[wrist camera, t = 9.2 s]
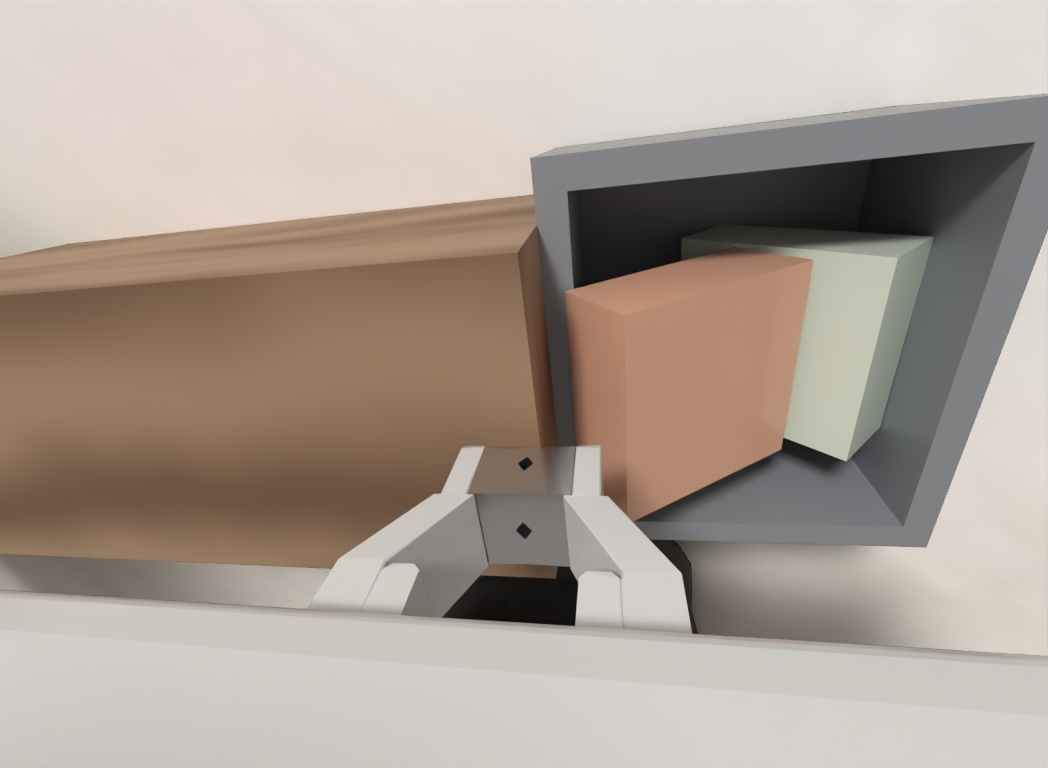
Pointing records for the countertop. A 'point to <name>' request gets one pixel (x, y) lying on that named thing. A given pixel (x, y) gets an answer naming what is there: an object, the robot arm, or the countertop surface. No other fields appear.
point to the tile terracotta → (685, 370)
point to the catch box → (839, 205)
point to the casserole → (545, 595)
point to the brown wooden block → (265, 382)
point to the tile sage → (839, 323)
